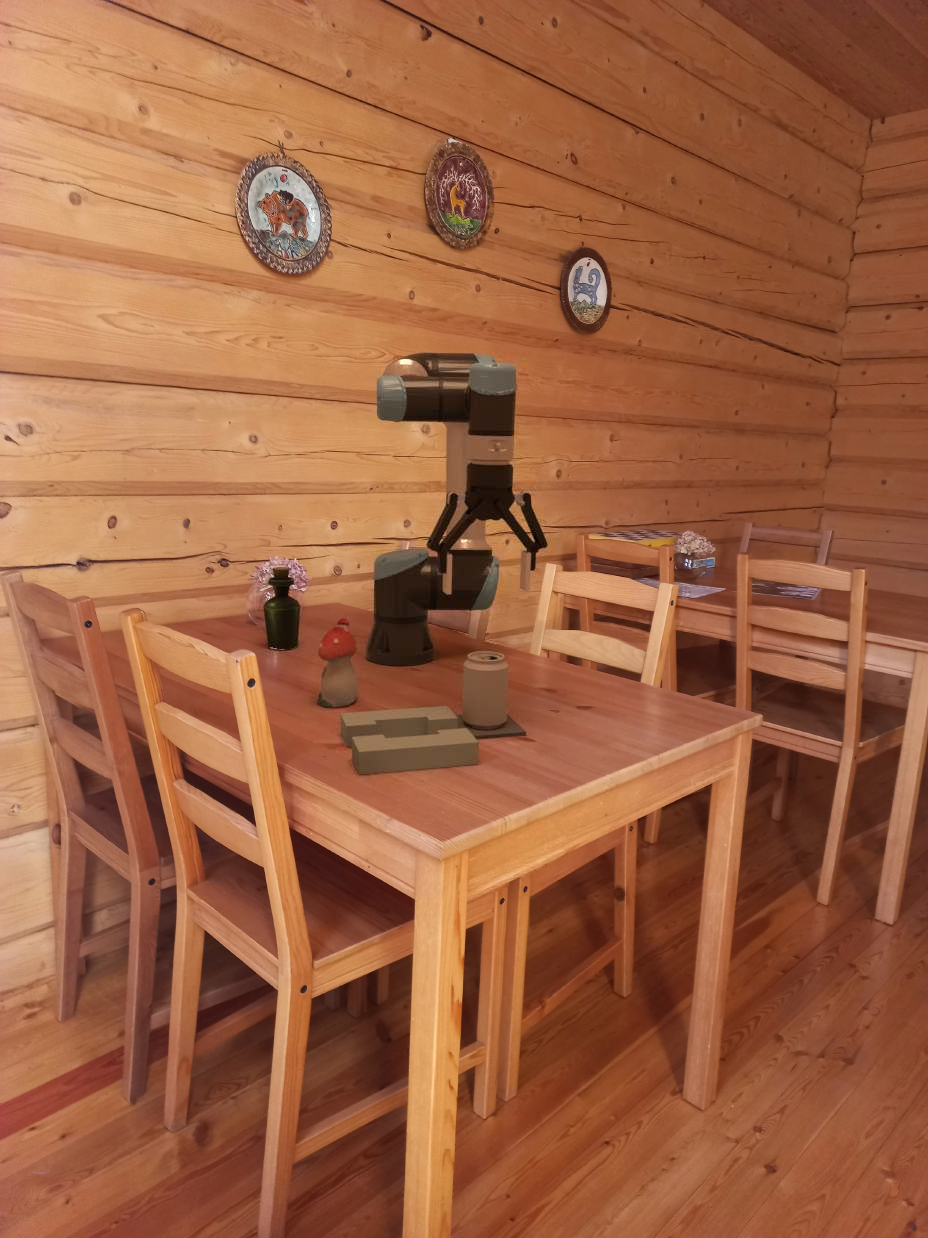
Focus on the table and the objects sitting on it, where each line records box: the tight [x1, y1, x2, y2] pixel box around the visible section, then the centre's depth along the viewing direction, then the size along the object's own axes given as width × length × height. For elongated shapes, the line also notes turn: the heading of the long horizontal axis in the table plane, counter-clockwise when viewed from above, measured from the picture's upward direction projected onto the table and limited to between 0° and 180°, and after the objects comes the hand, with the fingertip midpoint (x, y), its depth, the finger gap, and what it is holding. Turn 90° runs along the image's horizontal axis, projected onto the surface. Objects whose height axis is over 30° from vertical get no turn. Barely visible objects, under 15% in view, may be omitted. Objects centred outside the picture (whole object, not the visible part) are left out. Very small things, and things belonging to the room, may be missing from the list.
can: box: [461, 650, 509, 729], centre depth 148 cm, size 8×8×12 cm
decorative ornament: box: [316, 618, 358, 709], centre depth 160 cm, size 9×7×15 cm
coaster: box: [455, 713, 527, 740], centre depth 150 cm, size 11×11×1 cm
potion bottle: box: [263, 566, 301, 650], centre depth 198 cm, size 8×8×18 cm
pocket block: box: [339, 705, 480, 776], centre depth 139 cm, size 18×18×4 cm
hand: (486, 591), depth 148 cm, fingers open, 13 cm apart
